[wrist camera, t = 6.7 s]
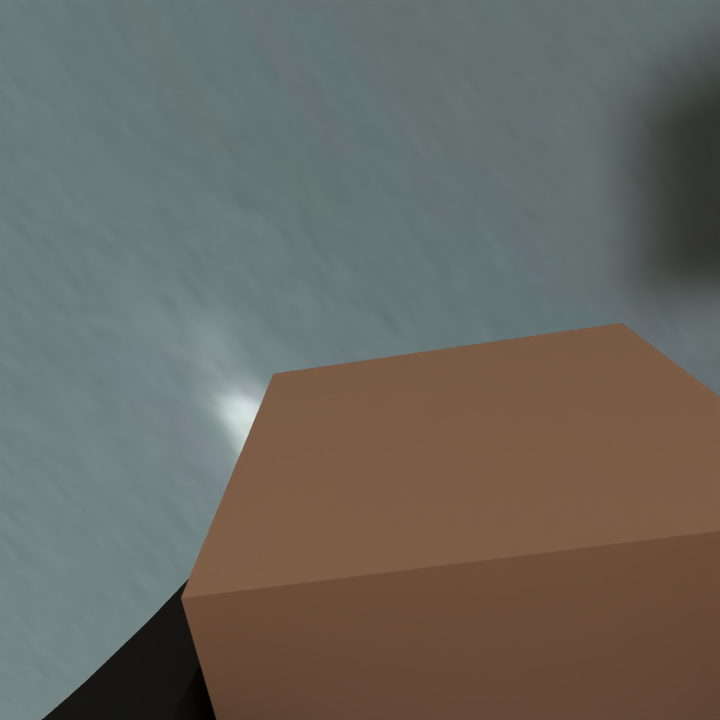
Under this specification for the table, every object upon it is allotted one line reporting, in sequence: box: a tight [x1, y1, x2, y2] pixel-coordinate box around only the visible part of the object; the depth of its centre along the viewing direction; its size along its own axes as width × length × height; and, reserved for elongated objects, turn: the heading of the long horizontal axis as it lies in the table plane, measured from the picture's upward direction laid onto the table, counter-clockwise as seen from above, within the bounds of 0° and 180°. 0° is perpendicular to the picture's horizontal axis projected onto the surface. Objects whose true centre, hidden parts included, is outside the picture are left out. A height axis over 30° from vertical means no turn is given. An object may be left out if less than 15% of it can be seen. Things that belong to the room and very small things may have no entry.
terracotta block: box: [181, 323, 720, 720], centre depth 8 cm, size 5×5×5 cm
